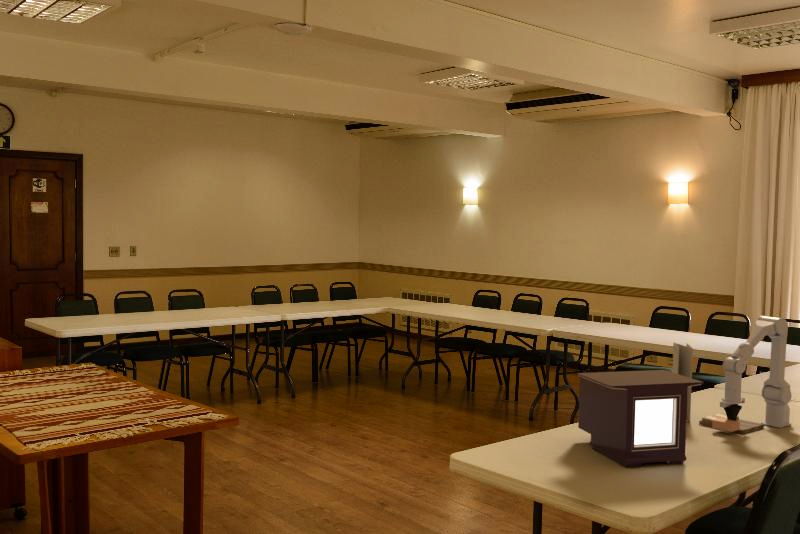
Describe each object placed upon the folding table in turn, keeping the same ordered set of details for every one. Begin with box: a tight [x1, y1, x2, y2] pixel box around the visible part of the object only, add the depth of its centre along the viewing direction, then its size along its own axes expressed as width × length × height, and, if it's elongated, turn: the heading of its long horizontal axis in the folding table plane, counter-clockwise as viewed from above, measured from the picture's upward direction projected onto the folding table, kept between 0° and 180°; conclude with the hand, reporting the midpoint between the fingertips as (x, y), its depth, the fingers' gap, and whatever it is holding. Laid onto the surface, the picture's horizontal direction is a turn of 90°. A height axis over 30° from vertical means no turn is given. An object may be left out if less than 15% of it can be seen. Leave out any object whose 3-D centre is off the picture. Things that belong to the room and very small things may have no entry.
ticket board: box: [698, 412, 765, 435], centre depth 311 cm, size 16×18×3 cm
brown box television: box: [576, 369, 705, 469], centre depth 273 cm, size 35×35×27 cm
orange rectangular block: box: [711, 418, 740, 433], centre depth 300 cm, size 6×8×3 cm
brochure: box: [672, 342, 694, 423], centre depth 323 cm, size 14×6×30 cm, turn 168°
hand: (731, 423), depth 303 cm, fingers closed
